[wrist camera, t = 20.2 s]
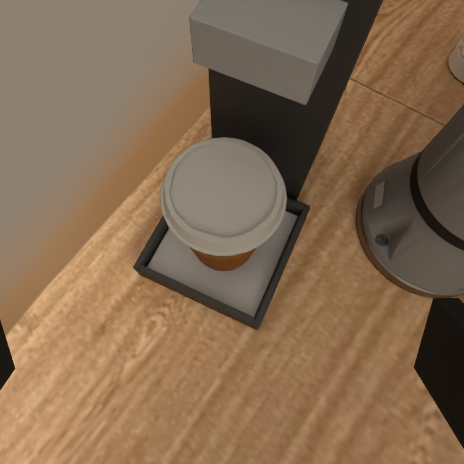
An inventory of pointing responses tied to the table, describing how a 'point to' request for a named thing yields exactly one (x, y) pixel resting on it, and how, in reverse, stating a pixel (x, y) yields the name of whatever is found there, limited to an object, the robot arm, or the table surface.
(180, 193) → the disposable coffee cup
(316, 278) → the table surface
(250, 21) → the coffee machine
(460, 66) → the white cup
